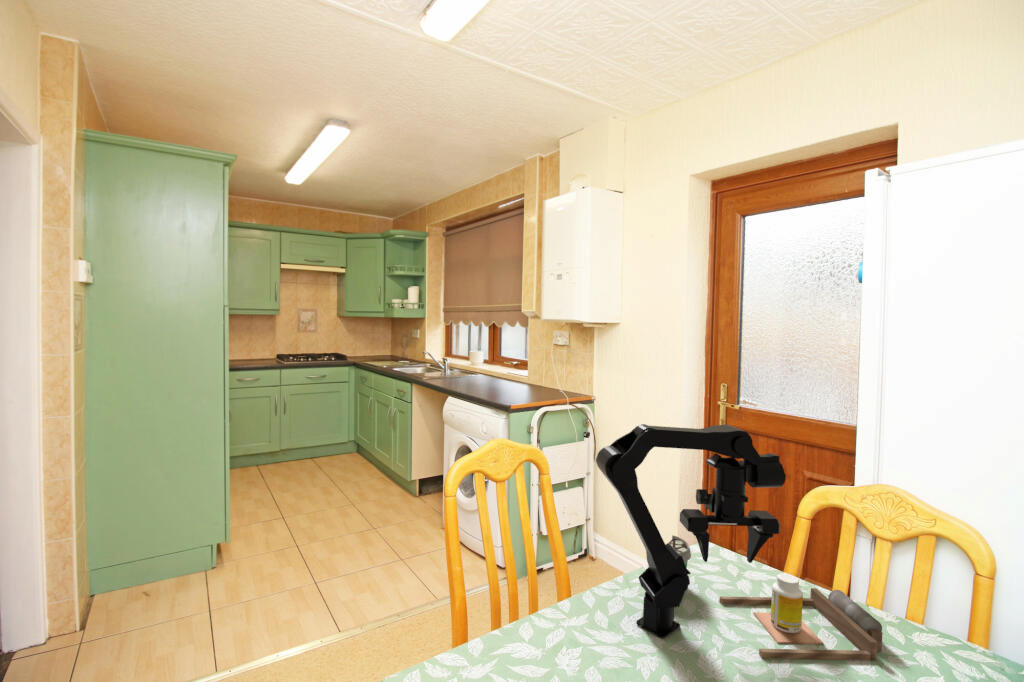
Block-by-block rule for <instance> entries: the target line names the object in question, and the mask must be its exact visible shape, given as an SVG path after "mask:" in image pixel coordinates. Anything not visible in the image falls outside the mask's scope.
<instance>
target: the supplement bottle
mask: <svg viewBox="0 0 1024 682" xmlns="http://www.w3.org/2000/svg"><path fill="white" fill-rule="evenodd" d="M771 587H772V588H771V597H772V603H771V605H770V606H771V607H770V609H771V610H770V613H771V623H772V624H773V626H774V627H776V628H777V629H779V630H781V631H783V632H786V633H798V632H799V631H800V630H801V625H802V621H803V618H802V617H803V606H802V603H803V598H804V593H803V592H804V591H803V590H802V588H800V580H799V578H798V577H796V576H794V575H791V574H789V573H778V574H777V576H776V581H775V582H774V583H773V584H772V585H771Z"/></svg>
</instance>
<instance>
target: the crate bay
mask: <svg viewBox="0 0 1024 682" xmlns="http://www.w3.org/2000/svg"><path fill="white" fill-rule="evenodd" d="M719 603H720V605H743V606H745V605H746V606H748V605H750V606H771V603H772V596H771V597H767V596H766V597H763V596H723V595H722V596H719ZM802 607H813V608H814V609H816V611H817V612H819V614H820V615H822V616H823V617H824V618H825V619H826V620H827V621H828V622H829V623H830V624H831V625H832V626H834V628H835V629H836V630H837V631H839V632H840V633H841V634H842V635H843V636H844V637H845V638H846V639H847V640H848V641H849V642H850V643H851V644H852V645H853V646H854V647H856V648H857V650H855V649H854V650H850V649H849V650H848V649H846V650H845V649H802V648H801V649H795V648H794V649H793V648H759V649H758V655H759V657H760V658H761V659H776V660H777V659H779V660H781V659H785V660H786V659H787V660H827V661H828V660H829V661H830V660H831V661H833V660H834V661H835V660H837V661H841V660H842V661H878V652H882V649H883V633H884V632H883V626H882V623H881V622H880V621H878V620H877V619H876V618H875V617H874V616H872V615H871V613H869V612H868V611H867V610H865V609H864V608H863V607H861V605H859V604H858V603H857V602H855V601H854V600H853V599H852V598H851V597H850V596H848V595H847V594H846V593H845V592H844V591H842V590H839V589H834V590H831V592H829V594H828V597H827V596H826V595H825V594H823V593H822V592H821V591H820V590H819V589H818V588H816V587H814V588H812V587H810V597H803V603H802ZM752 614H753V616H754V617H756V619H757V621H759V622H760V624H761V625H762V626H763V627H764V629H765V630H766V631H767V632H768V634H769V635H770V636H771V637H772V639H774V641H775V642H776V643H777V644H780V645H781V644H783V645H785V644H787V645H789V644H790V645H792V644H793V645H824V641H822V640H821V638H820V637H819V636H818V635H816V634H815V633H814V631H813V630H812V629H811V628H810V627H809V626H808V625H807V624H806V623H805V621H803V620H802V625H801V630H800V631H799V632H798V633H786V632H783V631H781V630H779V629H777V628H776V627H774V626H773V624H772V623H771V612H753V613H752Z"/></svg>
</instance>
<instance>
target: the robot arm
mask: <svg viewBox="0 0 1024 682" xmlns="http://www.w3.org/2000/svg"><path fill="white" fill-rule="evenodd" d="M653 448H667V449H680V450H681V449H684V450H685V449H686V450H699V451H709V452H712V453H714V454H713V455H712V456H711V457H709V458H708V459H707V460H705V462H706V464H707V465H709V466H711V467H712V468H714V469H715V484H714V485H715V487H712V491H711V493H708V489H705V488H699V489H696V493H695V502H696V504H697V505H704V509H705V510H707V509H708V511H709V512H711V513H713V515H711V514H708V515H707V514H704V513H703V512H702V511H701V510H700V509H699V508H696V509H695V508H694V509H693V508H683V509H682V510H681V511H680V512H679V522H680V523H681V524H682V526H683V527H684V528H685V530H687V532H690V533H692V535H693V536H695V539H696V540H697V544H698V547H699V550H700V553H701V557H702V560H703V561H704V562H705V563H707V562H708V558H709V549H710V548H709V546H710V545H709V544H710V533H709V532H708V530H709V526H726V527H727V526H733V527H736V526H737V527H738V526H739V527H747V533H748V535H747V536H748V537H747V538H748V539H747V548H746V560H747V562H748V563H749V564H752V563H753V561H754V560H755V558H756V556H758V553H759V552H760V551H761V549H762V547H763V546H764V545H765V544H766V543H767V542H768V540H769V539H772V538H774V535H779V534H780V533H781V523H780V520H779V519H778V518H776V517H775V515H772V514H771V513H770V512H768V511H767V510H755V509H754V510H750V511H749V512H748V513H747V515H745V513H746V512H745V508H746V503H749V497H748V496H747V495H746V486H747V485H746V484H748V485H749V486H750V488H753V489H756V488H757V489H758V488H759V489H761V488H762V489H763V488H766V489H767V488H781V487H783V486H784V485H785V482H786V478H787V477H786V473H785V468H784V467H783V464H782V463H781V462H780V455H777V454H776V453H772V452H771V453H765V454H760V453H758V452H759V451H757V450H756V448H755V446H754V445H753V439H752V436H751V435H750V433H749V432H747V431H746V430H743V429H740V428H737V427H735V426H732V425H730V424H725V423H724V424H718V425H710V426H708V427H703V428H693V427H692V428H688V427H675V426H663V425H662V426H660V425H659V426H657V425H648V424H645V423H641V424H638V425H637V426H635V427H634V428H633V429H632V430H630V431H629V432H628V433H626V434H624V435H623V436H621V437H619V438H617V439H615V440H614V441H613V442H612V443H611V444H610V445H607V446H604V447H603V448H601V449H600V450H599V452H597V455H596V458H595V461H596V462H595V463H596V465H597V467H598V469H599V470H600V471H601V474H603V476H604V477H605V478H606V479H607V481H608V482H609V484H610V485H611V486H612V487H613V488H614V490H615V491H616V492H617V494H618V495H619V499H620V501H621V502H622V504H623V506H624V508H625V510H626V513H627V514H628V516H629V518H630V521H631V522H632V524H633V526H634V528H635V531H636V532H637V534H638V536H639V539H640V540H641V543H642V544H643V546H644V549H645V553H646V561H647V565H648V567H647V568H646V569H645V570H644V571H643V572H642V573H641V574H640V575H639V576H638V581H639V584H640V586H641V588H643V590H644V591H645V593H644V597H643V609H642V610H643V613H642V616H641V617H640V618H638V619H637V620H636V625H638V626H640V627H641V628H643V629H645V630H647V631H648V632H650V633H651V634H654V636H657V637H659V638H660V639H665V638H666V637H668V636H669V635H671V634H672V633H674V632H675V631H677V630H678V629H680V627H681V624H680V623H679V622H677V621H676V620H674V619H675V608H679V607H680V605H681V603H682V600H683V597H684V595H685V593H686V591H687V590H688V589H689V586H690V584H691V580H690V576H689V575H691V571H689V569H688V567H687V568H686V567H685V564H684V560H683V558H682V556H681V555H680V554H679V553H678V552H677V551H676V550H675V549H674V547H673V546H672V545H671V544H670V543H669V542H668V543H669V544H668V545H667V546H666V543H665V541H664V539H663V537H662V535H661V533H660V531H659V529H658V527H657V525H656V522H655V521H654V519H653V516H652V515H651V512H650V510H649V508H648V506H647V504H646V502H645V499H644V498H643V496H642V494H641V492H640V489H639V483H638V476H637V471H636V469H637V468H638V467H639V466H640V465H642V464H643V462H644V461H645V459H646V457H647V456H648V454H649V453H650V451H651V450H652V449H653ZM722 456H723V457H722ZM738 459H742V460H738Z"/></svg>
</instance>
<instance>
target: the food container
mask: <svg viewBox="0 0 1024 682" xmlns="http://www.w3.org/2000/svg"><path fill="white" fill-rule="evenodd" d="M669 543H670V544H671V545H672V546H673V547H674V549H675V550H676V551H677V552H678V553H679V554H680V555H681V556H682V558H683V560H684V564H685V567H686V568H687V569H688V561H689V560H690V559H691V558H692V553H691V552H692V551H691V548H690V545H689V544H688V542H687V541H686V540H684V539H683V538H681V537H679V536H676V535H673V534H672V536H671V540H670V541H669V542H668V543H665V545H666V546H667V545H668V544H669Z"/></svg>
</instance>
